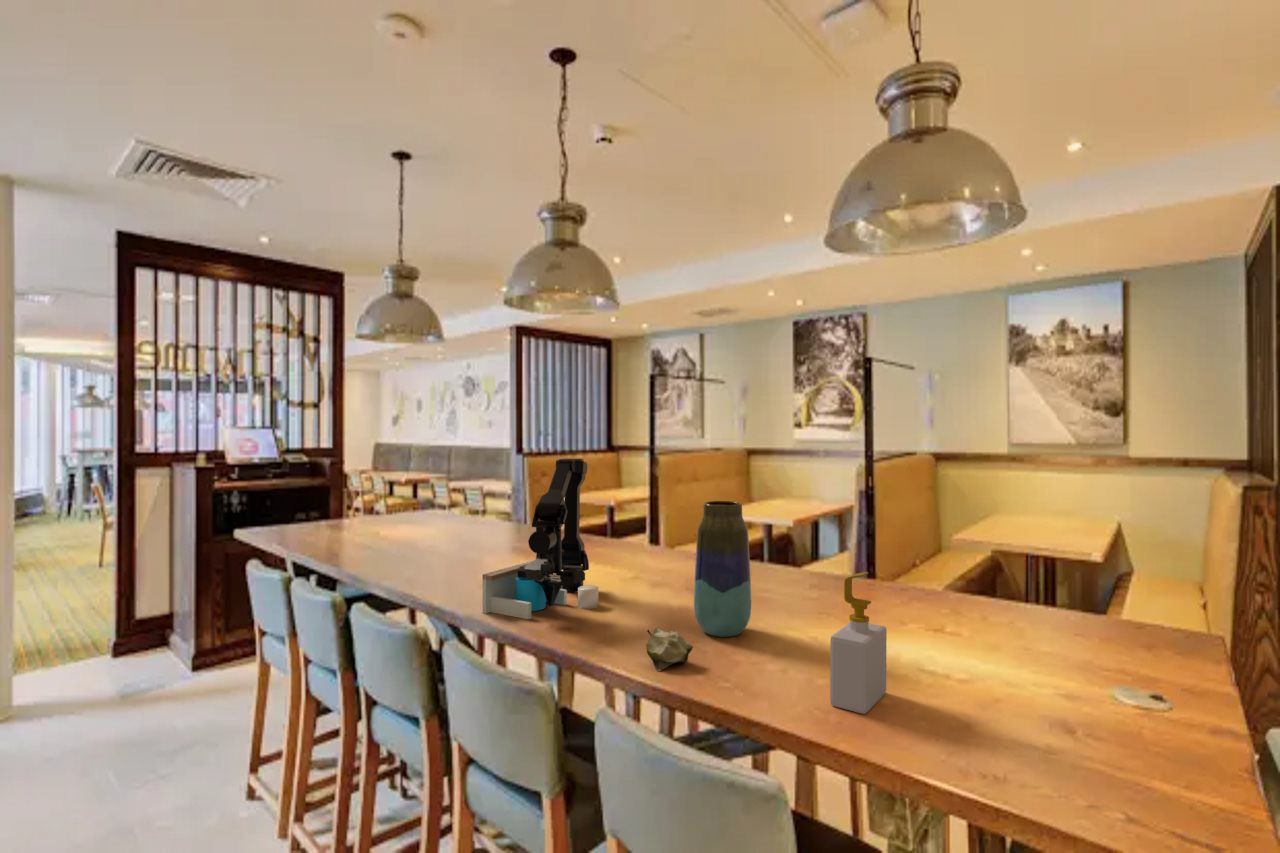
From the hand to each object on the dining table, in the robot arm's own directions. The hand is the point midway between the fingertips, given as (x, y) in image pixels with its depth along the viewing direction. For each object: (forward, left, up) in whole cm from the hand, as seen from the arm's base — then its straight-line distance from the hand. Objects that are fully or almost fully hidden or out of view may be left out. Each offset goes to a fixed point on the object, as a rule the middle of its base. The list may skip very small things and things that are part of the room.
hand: (550, 606), depth 175 cm
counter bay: (0, -8, -2) cm, 8 cm away
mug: (-2, -9, -2) cm, 9 cm away
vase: (-8, +46, -2) cm, 47 cm away
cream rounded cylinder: (-10, +5, -2) cm, 12 cm away
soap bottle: (+15, +83, -2) cm, 84 cm away
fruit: (+16, +44, -2) cm, 47 cm away
